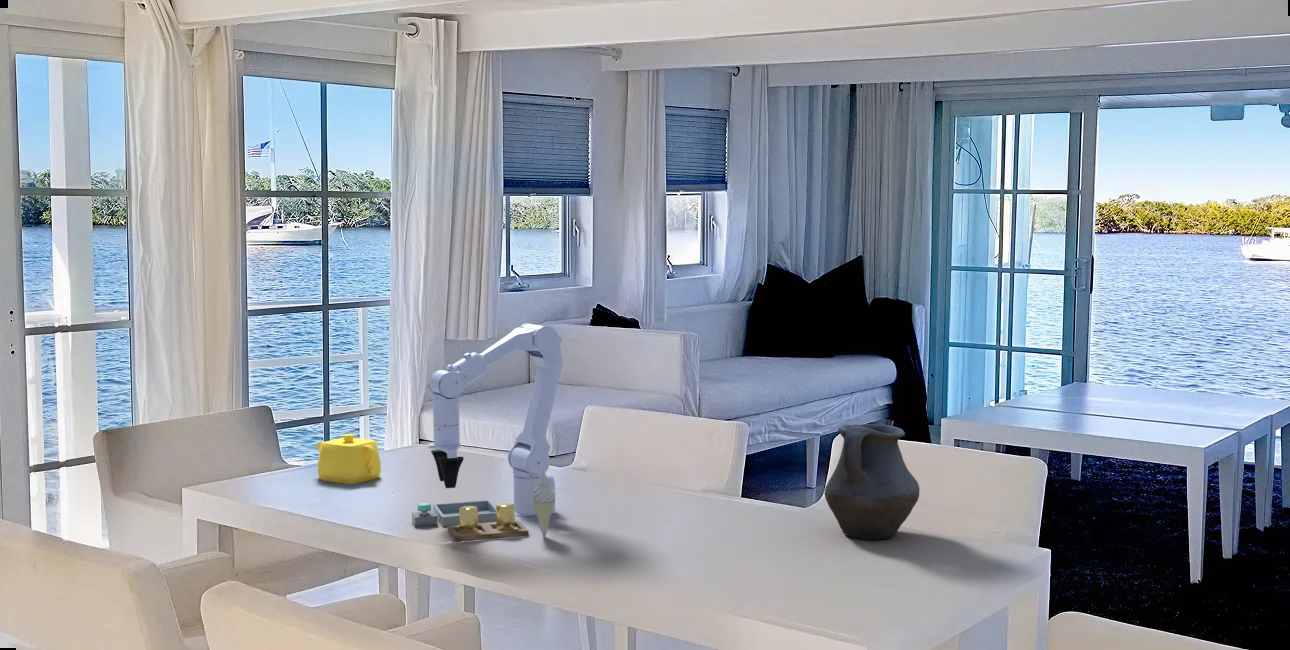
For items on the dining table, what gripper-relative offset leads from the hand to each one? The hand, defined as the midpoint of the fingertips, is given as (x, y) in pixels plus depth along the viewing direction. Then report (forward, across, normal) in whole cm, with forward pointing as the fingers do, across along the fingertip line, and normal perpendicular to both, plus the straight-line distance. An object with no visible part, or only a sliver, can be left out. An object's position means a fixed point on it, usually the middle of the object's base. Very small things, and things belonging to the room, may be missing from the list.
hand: (447, 484), depth 290 cm
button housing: (+9, -2, -5) cm, 11 cm away
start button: (+8, -2, -5) cm, 10 cm away
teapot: (+10, -60, -17) cm, 63 cm away
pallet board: (+9, +10, +7) cm, 15 cm away
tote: (+9, -5, +5) cm, 12 cm away
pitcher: (+10, +39, +85) cm, 94 cm away
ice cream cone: (+10, +17, +18) cm, 27 cm away
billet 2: (+9, +10, +11) cm, 18 cm away
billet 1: (+9, +10, +3) cm, 14 cm away
